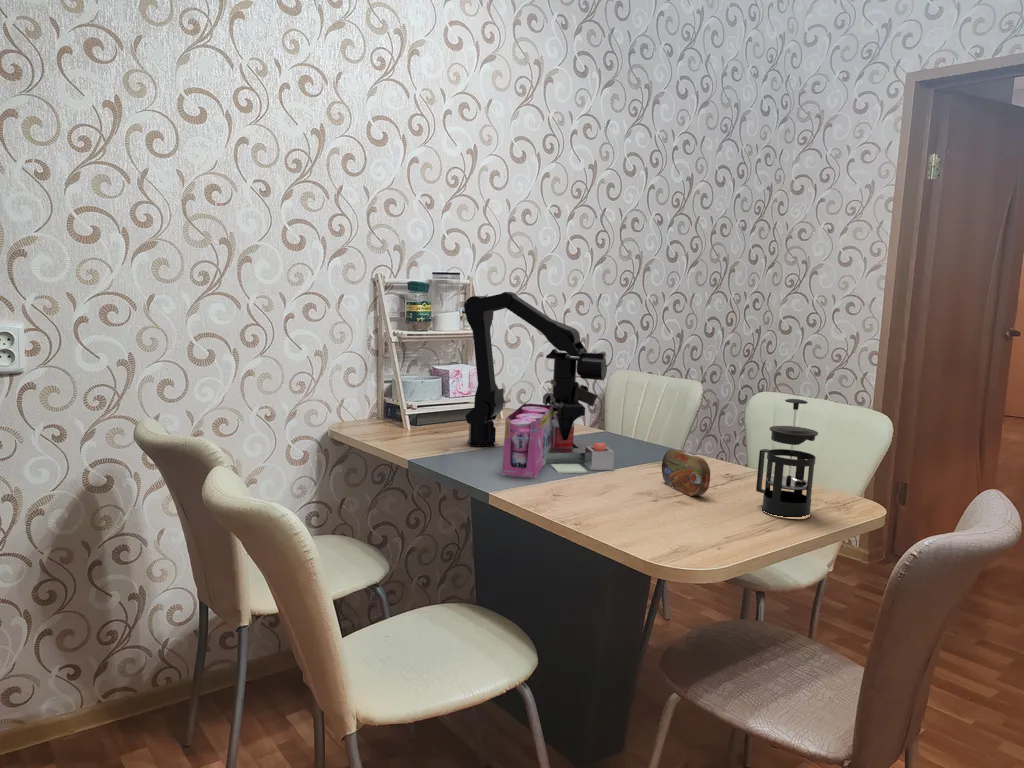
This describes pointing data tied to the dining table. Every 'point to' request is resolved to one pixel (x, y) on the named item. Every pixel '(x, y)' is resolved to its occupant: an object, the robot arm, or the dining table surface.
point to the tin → (686, 472)
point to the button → (599, 447)
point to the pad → (568, 468)
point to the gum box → (527, 440)
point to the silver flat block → (568, 453)
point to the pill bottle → (557, 437)
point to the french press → (787, 500)
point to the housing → (599, 458)
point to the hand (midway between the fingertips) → (561, 437)
